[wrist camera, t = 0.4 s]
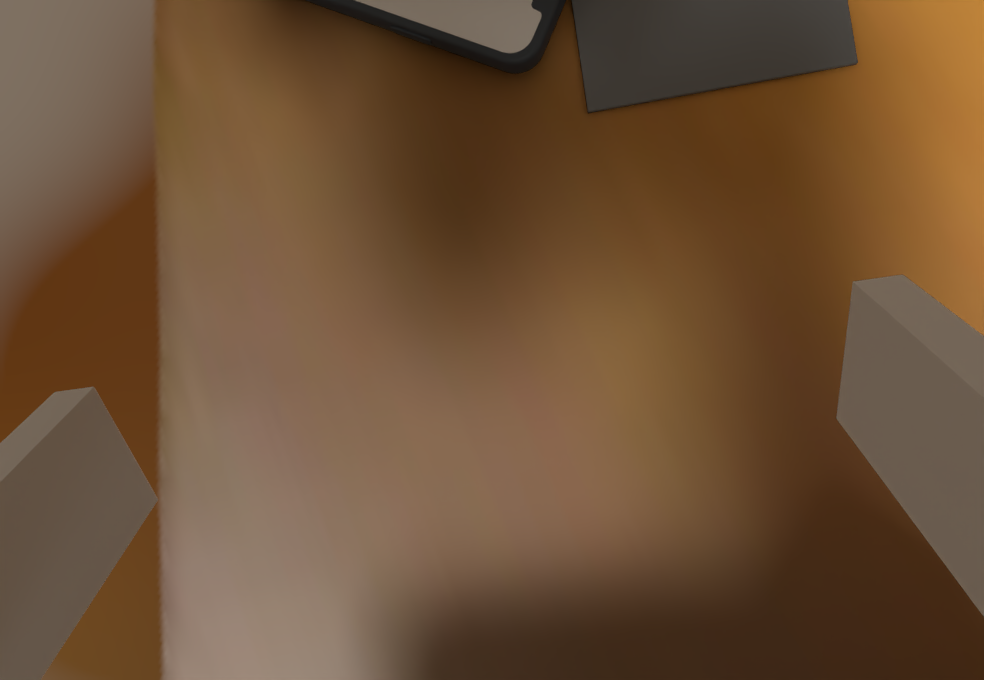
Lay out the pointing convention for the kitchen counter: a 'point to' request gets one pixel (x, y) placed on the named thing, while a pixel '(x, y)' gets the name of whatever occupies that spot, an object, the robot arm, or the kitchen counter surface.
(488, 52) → the phone case
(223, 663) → the kitchen counter surface
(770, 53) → the charging mat
